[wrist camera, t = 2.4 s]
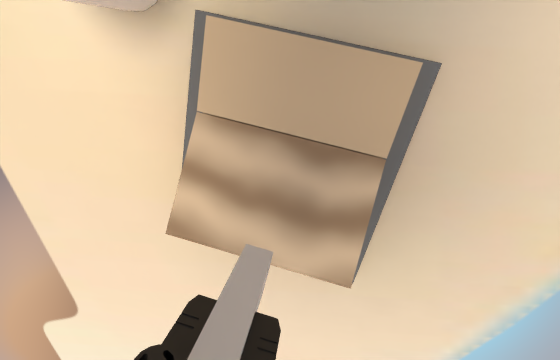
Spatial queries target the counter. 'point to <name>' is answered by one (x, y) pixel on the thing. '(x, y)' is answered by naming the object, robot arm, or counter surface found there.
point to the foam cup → (120, 4)
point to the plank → (276, 197)
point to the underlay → (309, 91)
